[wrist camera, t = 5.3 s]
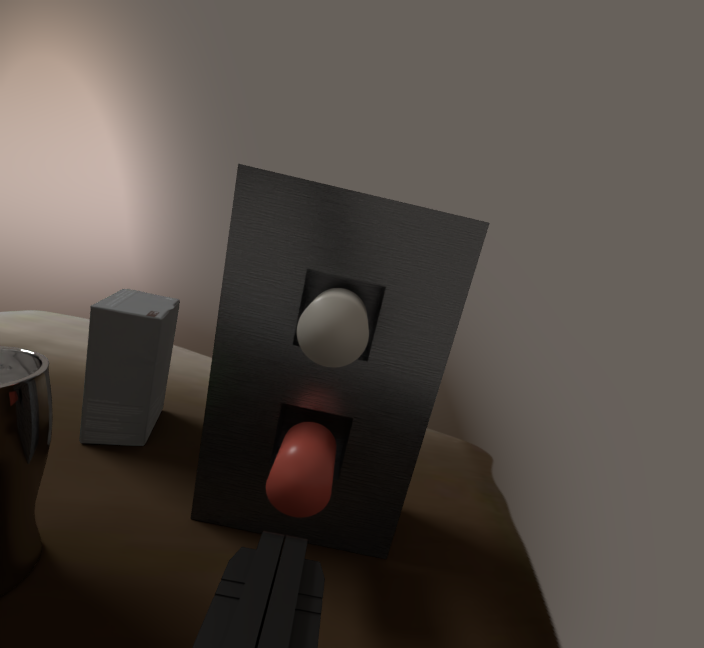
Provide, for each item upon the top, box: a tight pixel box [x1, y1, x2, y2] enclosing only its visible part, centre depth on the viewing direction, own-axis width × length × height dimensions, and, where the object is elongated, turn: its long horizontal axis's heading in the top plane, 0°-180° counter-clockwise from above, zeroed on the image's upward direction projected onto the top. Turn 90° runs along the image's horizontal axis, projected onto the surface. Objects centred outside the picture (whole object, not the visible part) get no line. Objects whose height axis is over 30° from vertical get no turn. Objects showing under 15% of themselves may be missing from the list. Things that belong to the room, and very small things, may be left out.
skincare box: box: [79, 289, 180, 446], centre depth 38 cm, size 8×7×16 cm
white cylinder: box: [297, 288, 369, 368], centre depth 22 cm, size 5×4×4 cm
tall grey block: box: [191, 164, 489, 559], centre depth 30 cm, size 7×18×30 cm, turn 89°
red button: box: [266, 422, 336, 517], centre depth 24 cm, size 5×4×4 cm
